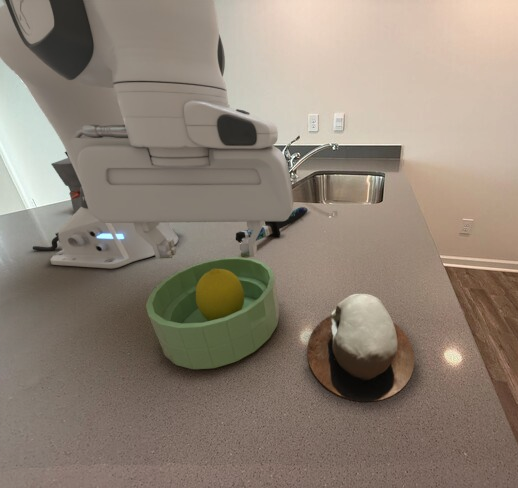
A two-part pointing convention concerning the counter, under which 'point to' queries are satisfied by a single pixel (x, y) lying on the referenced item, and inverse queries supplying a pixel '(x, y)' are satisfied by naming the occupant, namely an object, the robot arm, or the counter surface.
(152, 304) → the green pet bowl
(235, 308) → the lemon
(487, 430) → the counter surface
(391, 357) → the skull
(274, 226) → the knife
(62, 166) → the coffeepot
